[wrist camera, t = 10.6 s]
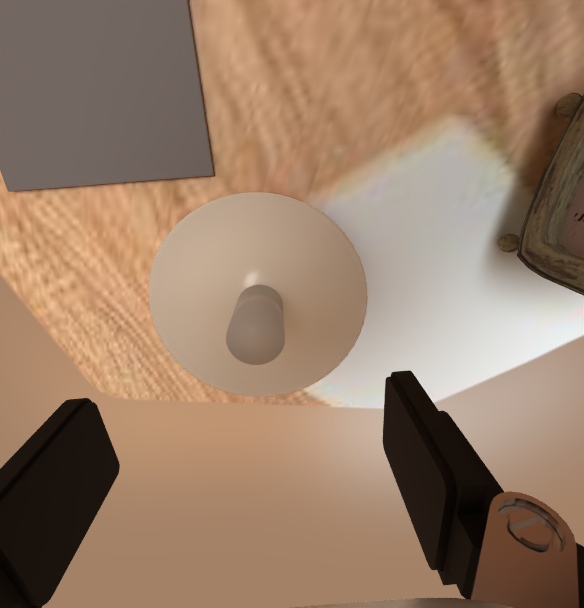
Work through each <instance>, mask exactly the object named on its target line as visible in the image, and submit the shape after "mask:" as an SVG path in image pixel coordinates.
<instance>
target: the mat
mask: <svg viewBox="0 0 584 608" xmlns="http://www.w3.org/2000/svg"><path fill="white" fill-rule="evenodd" d="M0 171H1V173H2V176H3V179H4V181H5V184H6V187H7V190H8V191H26V190H39V189H51V188H64V187H76V186H89V185H102V184H114V183H127V182H139V181H152V180H165V179H177V178H190V177H202V176H215V174H214V167H213V161H212V154H211V147H210V141H209V134H208V127H207V121H206V114H205V107H204V101H203V94H202V87H201V81H200V74H199V67H198V61H197V54H196V47H195V41H194V34H193V27H192V21H191V14H190V7H189V1H188V0H0Z"/></svg>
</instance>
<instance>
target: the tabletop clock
mask: <svg viewBox="0 0 584 608" xmlns="http://www.w3.org/2000/svg"><path fill="white" fill-rule="evenodd" d="M556 113H557V115H558V116H560V117H562V118H569V117H570V119H569V121H568V123H567V125H566V127H565V129H564V131H563V133H562V135H561V137H560V139H559V141H558V143H557V145H556V147H555V149H554V151H553V153H552V155H551V158H550V160H549V162H548V164H547V166H546V168H545V170H544V172H543V174H542V177H541V179H540V182H539V184H538V187H537V190H536V192H535V195H534V198H533V200H532V203H531V205H530V208H529V211H528V213H527V216H526V219H525V221H524V224H523V227H522V231H521V235H520V237H519V236H517V235H514V234H507V235H505V236H503V237H502V238H501V239H500V241H499V247H500V249H501V250H502V251H504V252H514V251H516V250H517V249H518V254H517V256H518V257H519V258H520V260H521V261H522V262H523V263H524V264H525V265H526V266H527V267H528V268H529V269H531V270H532V271H534V272H535V273H537V274H538V275H540V276H542V277H543V278H545V279H548V280H550V281H552V282H554V283H557V284H559V285H561V286H564V287H566V288H568V289H570V290H573V291H575V292H577V293H579V294H582V295H584V95H583V96H581V95H580V94H578V93H571V94H569V95H567V96H565V97H563V98H562V99H561V100H560V101H559V102H558V104H557V106H556Z"/></svg>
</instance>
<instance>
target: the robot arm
mask: <svg viewBox="0 0 584 608" xmlns="http://www.w3.org/2000/svg"><path fill="white" fill-rule="evenodd" d="M383 446H384V450H385V454H386V456H387V459H388V461H389V464H390V467H391V469H392V471H393V474H394V477H395V479H396V482H397V485H398V487H399V490H400V492H401V495H402V497H403V500H404V503H405V505H406V508H407V511H408V513H409V516H410V518H411V521H412V524H413V526H414V529H415V531H416V534H417V537H418V539H419V542H420V544H421V547H422V550H423V552H424V554H425V557H426V560H427V562H428V565H429V567H430V568H431V569H432V570H438V573H439V575H440V578H441V580H442V583H443V585H450V584H457V587H458V589H459V591H460V593H461V595H462V596H463V597H464V598H466V599H459V598H415V599H399V600H383V601H368V602H353V603H352V602H351V603H339V604H329V605H315V606H304V607H291V608H584V547H583V546H581V545H580V544H578V543H576V542H575V538H574V535H573V533H572V532H571V530H570V528H569V526H568V525H567V523H566V522H565V521H564V520H563V519H562V518H561V517H560V516H559V514H558V513H557V512H555V511H554V510H553V509H551V508H550V507H549V506H548V505H546V504H545V503H543V502H541V501H539V500H538V499H536V498H534V497H532V496H529V495H526V494H523V493H517V492H504V491H503V489H502V488H501V487H500V485H499V484H498V482H497V481H496V480H495V478H494V477H493V475H492V474H491V473H490V471H489V470H488V468H487V467H486V466H485V464H484V463H483V461H482V460H481V459H480V457H479V456H478V454H477V453H476V452H475V451H474V449H473V447H472V446H471V445H470V443H469V442H468V441H467V439H466V438H465V436H464V435H463V433H462V432H461V431H460V429H459V428H458V427H457V425H456V424H455V422H454V421H453V420H452V418H451V417H450V416H449V414H448V413H447V412H445V411H438V409H437V408H436V407H435V405H434V404H433V402H432V401H431V399H430V398H429V396H428V395H427V393H426V392H425V390H424V389H423V387H422V386H421V384H420V383H419V382H418V380H417V379H416V377H415V376H414V374H413V373H412V372H411V371H399V372H392V374H391V377H387V378H386V384H385V404H384V425H383ZM118 473H119V461H118V459H117V456H116V453H115V451H114V448H113V446H112V443H111V441H110V438H109V435H108V433H107V430H106V428H105V425H104V423H103V420H102V418H101V415H100V412H99V410H98V407H97V405H96V404H95V403H94V402H92V401H91V400H90V399H88V398H83V399H71V400H66V401H65V402H64V403H63V404H62V405H61V406H60V407H59V408H58V409H57V410H56V411H55V412H54V413H53V414H52V415H51V416H50V417H49V418H48V420H47V421H46V422H45V423H44V424H43V425H42V426H41V427H40V428H39V429H38V430H37V431H36V432H35V433H34V434H33V435H32V436H31V437H30V438H29V439H28V440H27V441H26V443H25V444H24V445H23V446H22V447H21V448H20V449H19V450H18V451H17V452H16V453H15V454H14V455H13V456H12V457H11V458H10V459H9V460H8V461H7V462H6V463H5V465H4V466H3V467H2V468H1V469H0V608H42V606H43V605H45V604H46V603H47V602H48V601H49V600H50V599H51V597H52V595H53V594H54V592H55V590H56V588H57V586H58V585H59V583H60V581H61V579H62V577H63V575H64V573H65V571H66V570H67V568H68V566H69V564H70V562H71V560H72V559H73V557H74V555H75V553H76V551H77V549H78V548H79V546H80V544H81V542H82V540H83V538H84V537H85V535H86V533H87V531H88V529H89V527H90V525H91V523H92V522H93V520H94V518H95V516H96V514H97V512H98V511H99V509H100V507H101V505H102V503H103V501H104V500H105V497H106V496H107V494H108V492H109V490H110V488H111V486H112V485H113V483H114V481H115V479H116V477H117V475H118Z"/></svg>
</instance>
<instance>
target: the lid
mask: <svg viewBox="0 0 584 608" xmlns="http://www.w3.org/2000/svg"><path fill="white" fill-rule="evenodd" d="M149 305H150V311H151V316H152V319H153V323H154V326H155V329H156V331H157V333H158V335H159V337H160V339H161V341H162V343H163V344H164V346H165V347H166V349H167V350H168V352H169V353H170V354H171V356H172V357H173V358H174V359H175V360H176V361H177V363H179V364H180V365H181V366H182V367H183V368H184V369H185V370H186V371H187V372H189V373H190V374H191V375H193V376H194V377H196V378H197V379H199V380H200V381H202V382H204V383H206V384H208V385H209V386H212V387H214V388H217V389H219V390H222V391H225V392H228V393H232V394H237V395H242V396H251V397H270V396H277V395H284V394H288V393H291V392H295V391H298V390H300V389H303V388H305V387H308V386H310V385H312V384H314V383H315V382H317V381H319V380H320V379H322V378H323V377H325V376H326V375H328V374H329V373H330V372H331V371H332V370H334V369H335V368H336V367H337V366H338V365H339V364H340V363H341V362H342V361H343V359H344V358H345V357H346V356H347V355H348V353H349V352H350V350H351V349H352V347H353V346H354V344H355V342H356V340H357V338H358V336H359V334H360V331H361V328H362V326H363V323H364V318H365V313H366V306H367V286H366V280H365V275H364V270H363V267H362V265H361V262H360V259H359V256H358V255H357V253H356V251H355V249H354V247H353V245H352V243H351V242H350V241H349V239H348V238H347V236H346V235H345V234H344V232H343V231H342V230H341V229H340V228H339V227H338V226H337V225H336V224H335V223H334V222H333V221H332V220H331V219H329V218H328V217H327V216H326V215H324V214H323V213H322V212H320V211H318V210H317V209H315V208H313V207H312V206H310V205H308V204H306V203H304V202H302V201H299V200H297V199H294V198H292V197H288V196H284V195H281V194H275V193H267V192H245V193H239V194H232V195H228V196H225V197H221V198H218V199H215V200H213V201H210V202H208V203H206V204H204V205H202V206H200V207H198V208H197V209H195V210H194V211H192V212H191V213H189V214H188V215H187V216H186V217H184V218H183V219H182V220H181V221H180V222H179V223H178V224H177V225H176V226H175V227H174V228H173V229H172V230H171V232H170V233H169V234H168V235H167V236H166V238H165V240H164V241H163V243H162V245H161V246H160V248H159V250H158V252H157V255H156V257H155V260H154V262H153V266H152V270H151V274H150V280H149Z"/></svg>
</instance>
